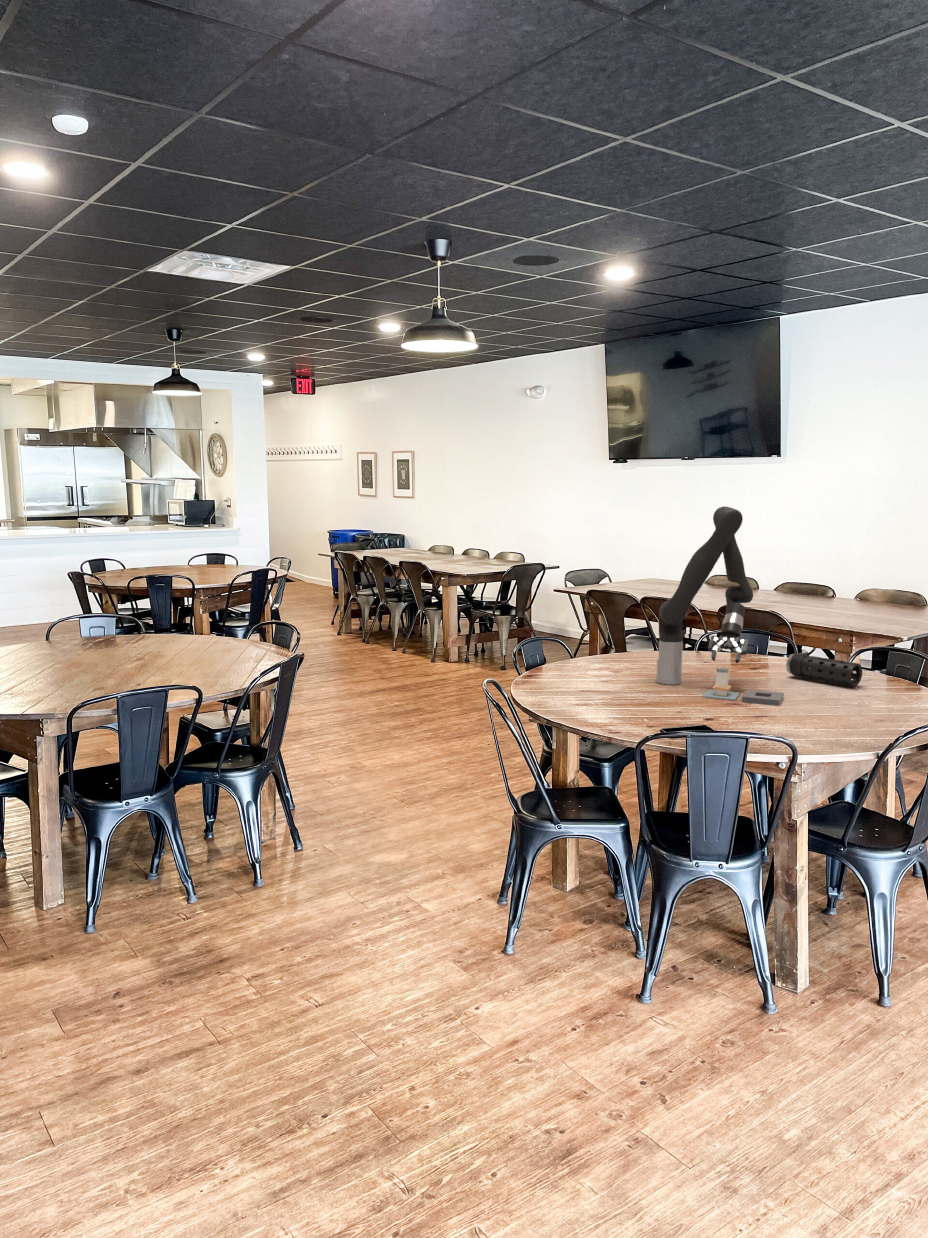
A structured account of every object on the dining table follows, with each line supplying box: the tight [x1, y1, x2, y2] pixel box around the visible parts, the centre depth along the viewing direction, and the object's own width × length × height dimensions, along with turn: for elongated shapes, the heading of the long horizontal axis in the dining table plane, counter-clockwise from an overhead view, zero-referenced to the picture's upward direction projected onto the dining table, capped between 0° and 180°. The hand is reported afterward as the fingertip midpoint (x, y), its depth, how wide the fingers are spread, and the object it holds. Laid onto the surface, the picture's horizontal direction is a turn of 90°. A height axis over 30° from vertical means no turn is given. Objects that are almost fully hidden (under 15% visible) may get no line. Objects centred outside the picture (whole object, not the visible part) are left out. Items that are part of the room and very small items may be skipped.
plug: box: [711, 666, 732, 696], centre depth 327 cm, size 6×6×10 cm
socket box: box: [741, 689, 785, 707], centre depth 321 cm, size 13×13×2 cm
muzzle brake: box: [785, 652, 863, 689], centre depth 350 cm, size 10×28×10 cm, turn 38°
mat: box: [701, 688, 741, 702], centre depth 328 cm, size 12×12×1 cm
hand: (725, 660), depth 331 cm, fingers open, 8 cm apart
